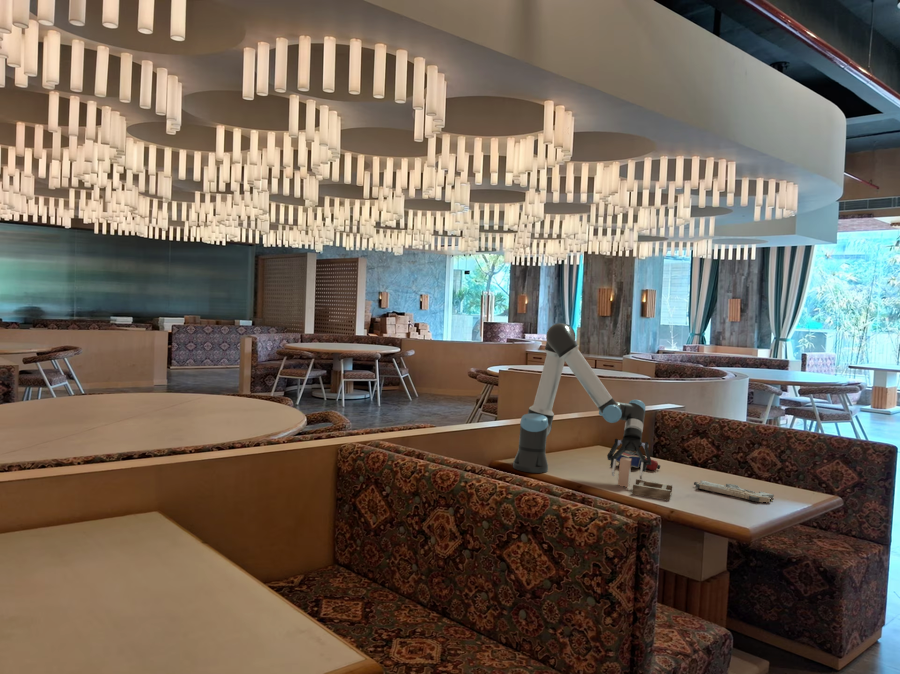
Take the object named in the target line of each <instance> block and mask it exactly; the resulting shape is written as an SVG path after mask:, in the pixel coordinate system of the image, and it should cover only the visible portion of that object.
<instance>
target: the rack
mask: <svg viewBox="0 0 900 674" xmlns="http://www.w3.org/2000/svg"><path fill="white" fill-rule="evenodd" d="M631 494H632V495H634V494H635V495H636V496H641V497H646V498H653V499H658V500H665V501H670V500H671V497H672V494H673V484H668V483H662V482H656V481H652V480H651V481H649V480H644V479H635V483H633V484H632V491H631Z"/></svg>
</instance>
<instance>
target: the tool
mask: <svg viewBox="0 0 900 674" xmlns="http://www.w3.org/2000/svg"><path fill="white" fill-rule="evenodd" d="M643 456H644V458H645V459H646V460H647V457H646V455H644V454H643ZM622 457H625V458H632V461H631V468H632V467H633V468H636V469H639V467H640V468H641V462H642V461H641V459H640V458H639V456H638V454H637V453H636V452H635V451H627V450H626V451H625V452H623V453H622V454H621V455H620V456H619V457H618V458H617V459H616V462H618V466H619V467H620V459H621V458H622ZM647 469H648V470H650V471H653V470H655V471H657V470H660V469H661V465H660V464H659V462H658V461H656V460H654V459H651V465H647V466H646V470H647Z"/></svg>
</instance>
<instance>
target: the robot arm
mask: <svg viewBox="0 0 900 674" xmlns="http://www.w3.org/2000/svg"><path fill="white" fill-rule="evenodd" d="M545 335H546V336H545V337H546V342H545V343H546V344H545V346H544V351H545V353H546V356H545V359H544V363H543V368H542V370H541V376H540V379H539V383H538V387H537V390H536V394H535V397H534V401H533V404H532V405H531V406H529V408H528V411H527V413H525V414H523V415H522V416H521V418H520V421H519V423H520V428H519V436H518V437H519V439H518V450H517V452H516V455H515V457H514V460H513V462H512V468H513V469H514V470H517V471H518V472H519V471H521V472H525V473H533V474H543V473H542V472H544V473H547V472H548V471H549V464H548V460H547V454H546V448H547V447H546V446H547V437H548V436H549V435H550V434H551V431H552V423H553V420H554V417H555V413H554V412H553V406H554V404H555V403H554V402H555V400H556V396H557V393H558V388H559V384H560V381H561V378H562V374H563V370H564V366H565V363H566V365H567V366H568V368H569V369H570V370H571V372H572V373H573V375H574V377H576V379H577V380H578V381H579V384H581V386H582V387H583V389H584V390H585V392H586V393H587V395H589V398H590V399H591V400H592V402H593V403H594V404H595V406H596V407H597V408H598V410H599V411H598V415H599V416H600V417H602V418H603V419H604V420H605V421H606V422H608V423H610V424H614V423H617V422H619V421H620V420H621V421H625V423H624V430H623V437H622V439H620V440H619V439H617V438H615V439H614V443H613V445H612V447H611V448H610V450H609V452H608V454H607V455H606V456H607V460H608V461H610V465H609V467H610V468H612V469H611V475H612V476H613V477H614V476H615V472H616V467H617V461H616V459H617V458H618V457H619V456H620V455H621V454H622V453H623V452H625V451H626V450H627V451H631V452H635V453H637V454H638V456H639V458H640V459H641V461H642V462H641V467H640V471H639V480H643V473H645V472H646V471H647V468H646V466H647V465H651V460H652V458H651V454H650V450H649V442H648V441H646V442H642V440H643V439H642V438H643V432H644V431H643V430H644V423H645V416H646V404H645V402H643V400H639V399H632V400H630V401H629V402H628V403H625V402H622V401H621V402H619V401H615V399H614V398H613V396H612V395H611V394H610V392H609V391H608V389H607V388H606V386H605V385H604V383H602V381H601V379H600V378H599V376H598V375H597V374H596V372H595V371H594V369H593V368H592V367H591V365H590V364H589V362H588V361H587V360H586V358H585V357H584V355H583V354H582V352H581V351H580V350H579V347H580V346H579V344H578V343H577V341H576V333H575V330H574V328H573V327H572V326H570V325H569V324H566V323H562V322H561V323H555V324H553V325H551V326H550V327H549V328H548V330H547V332H546V334H545ZM620 445H621V446H620ZM619 446H620V448H619V449H618V447H619ZM641 447H642V448H643V449H644V452H645V455H644V454H643V453H642V451H641V449H640V448H641ZM617 449H618V450H617ZM643 455H644V456H645V457H646V458H647V460H646V459H645V458H644V456H643Z"/></svg>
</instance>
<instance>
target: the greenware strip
mask: <svg viewBox="0 0 900 674" xmlns="http://www.w3.org/2000/svg"><path fill="white" fill-rule="evenodd" d="M631 461H632V458H625V457H622V458H621V459H620V466H619V468H618V478H617V486H618V485H620V486H619V487H623V486H625V487H624V488H628V487H629V486H630V481H631V471H632V467H631Z"/></svg>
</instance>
